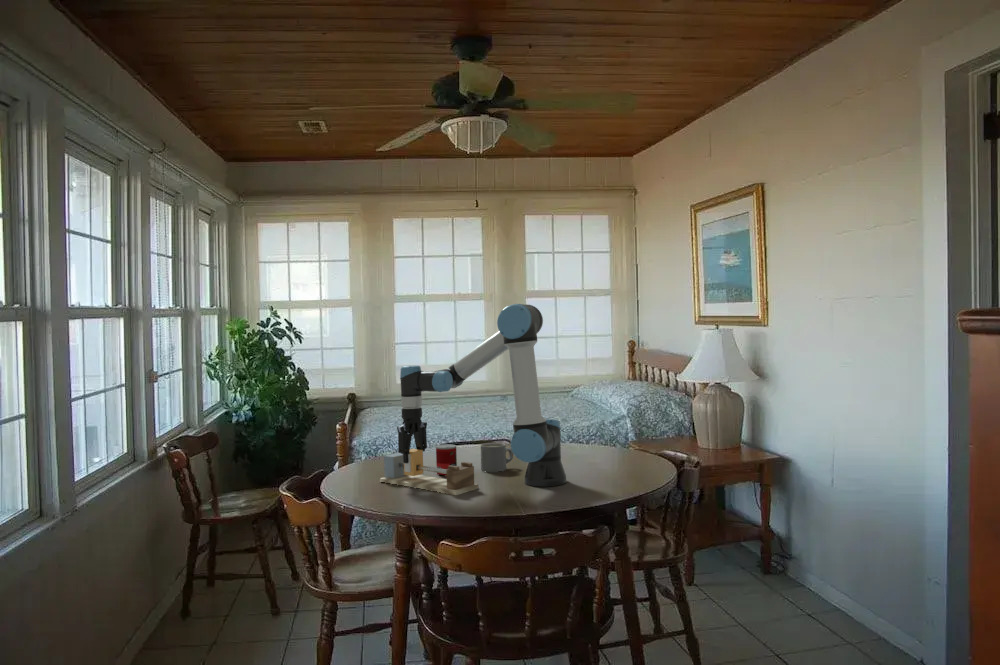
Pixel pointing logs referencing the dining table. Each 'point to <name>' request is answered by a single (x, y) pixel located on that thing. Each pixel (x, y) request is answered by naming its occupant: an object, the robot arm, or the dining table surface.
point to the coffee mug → (494, 457)
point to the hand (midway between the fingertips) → (413, 470)
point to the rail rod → (427, 468)
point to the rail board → (441, 480)
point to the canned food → (446, 456)
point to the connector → (393, 465)
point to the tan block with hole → (415, 462)
